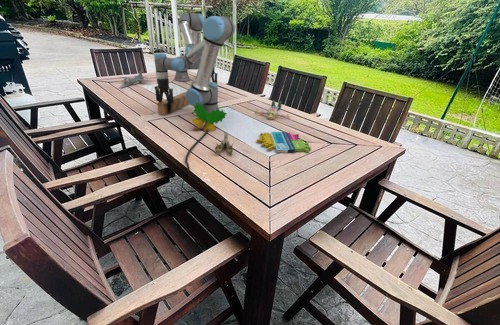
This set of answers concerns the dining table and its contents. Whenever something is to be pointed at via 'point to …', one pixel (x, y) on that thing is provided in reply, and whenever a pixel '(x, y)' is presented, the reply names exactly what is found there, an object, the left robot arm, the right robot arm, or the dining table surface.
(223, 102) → the dining table surface
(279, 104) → the toy
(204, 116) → the ornament
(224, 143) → the jawbone
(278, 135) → the sign
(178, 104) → the post
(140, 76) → the airplane
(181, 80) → the left robot arm
